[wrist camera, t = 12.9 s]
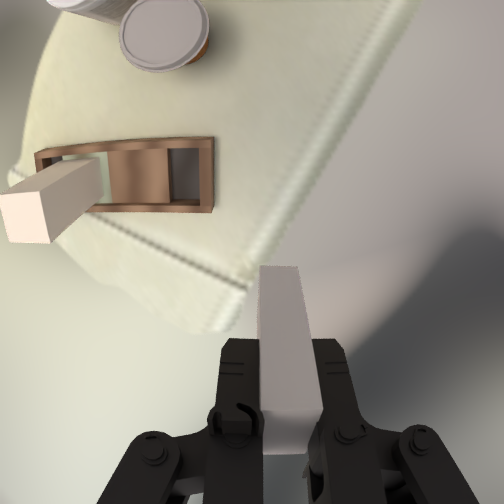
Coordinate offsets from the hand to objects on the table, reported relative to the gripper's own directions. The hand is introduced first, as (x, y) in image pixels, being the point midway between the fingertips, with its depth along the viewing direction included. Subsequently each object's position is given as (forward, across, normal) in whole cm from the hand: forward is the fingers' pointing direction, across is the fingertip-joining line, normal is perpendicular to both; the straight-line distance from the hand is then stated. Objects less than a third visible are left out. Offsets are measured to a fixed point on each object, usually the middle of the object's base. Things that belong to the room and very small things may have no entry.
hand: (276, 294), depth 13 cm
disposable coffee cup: (+33, -11, +15) cm, 37 cm away
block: (+30, -26, -3) cm, 40 cm away
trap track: (+32, -21, -4) cm, 38 cm away
